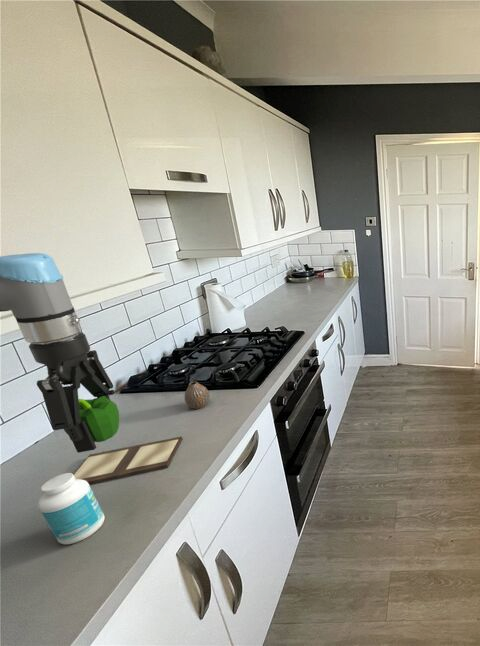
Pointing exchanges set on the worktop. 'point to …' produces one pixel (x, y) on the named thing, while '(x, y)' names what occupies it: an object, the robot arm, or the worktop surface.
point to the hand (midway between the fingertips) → (99, 435)
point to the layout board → (128, 461)
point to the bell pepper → (99, 417)
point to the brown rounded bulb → (196, 395)
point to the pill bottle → (70, 508)
